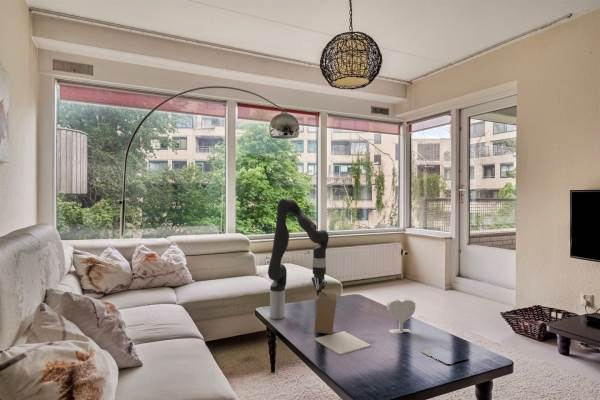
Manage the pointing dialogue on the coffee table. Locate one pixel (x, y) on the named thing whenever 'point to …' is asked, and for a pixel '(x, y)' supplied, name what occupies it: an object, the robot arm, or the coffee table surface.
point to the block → (325, 312)
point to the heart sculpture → (401, 312)
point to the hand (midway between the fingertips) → (318, 295)
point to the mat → (342, 342)
